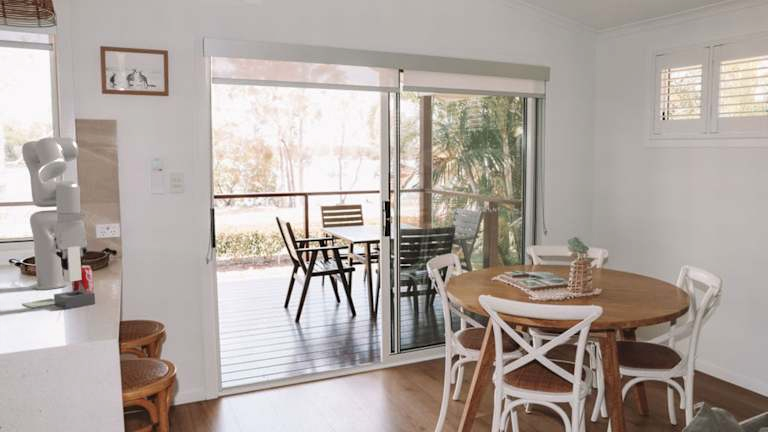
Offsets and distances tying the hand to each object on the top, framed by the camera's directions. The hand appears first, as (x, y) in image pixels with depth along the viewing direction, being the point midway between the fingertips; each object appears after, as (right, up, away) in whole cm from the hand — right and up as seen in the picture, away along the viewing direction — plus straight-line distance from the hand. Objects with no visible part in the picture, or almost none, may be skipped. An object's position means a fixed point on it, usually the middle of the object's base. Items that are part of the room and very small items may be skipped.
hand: (72, 267), depth 219 cm
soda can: (-2, -13, +12) cm, 18 cm away
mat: (-12, -13, +3) cm, 18 cm away
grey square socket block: (+1, -13, +1) cm, 13 cm away
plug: (0, -4, 0) cm, 4 cm away
